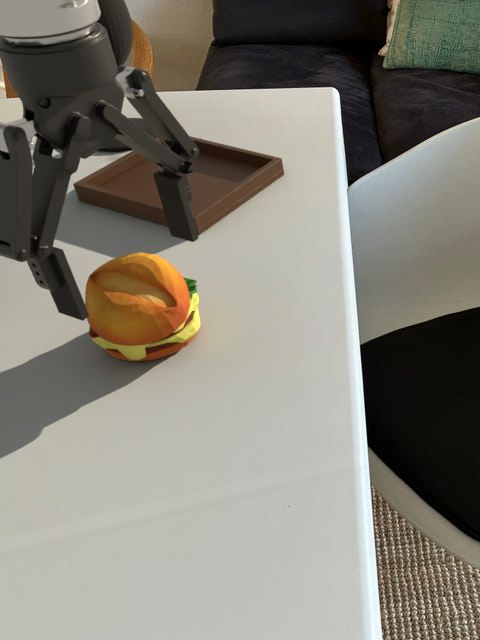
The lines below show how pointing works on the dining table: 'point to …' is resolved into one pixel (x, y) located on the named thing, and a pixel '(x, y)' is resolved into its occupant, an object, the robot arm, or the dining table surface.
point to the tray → (205, 183)
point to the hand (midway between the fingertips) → (133, 273)
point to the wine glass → (120, 51)
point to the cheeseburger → (141, 307)
